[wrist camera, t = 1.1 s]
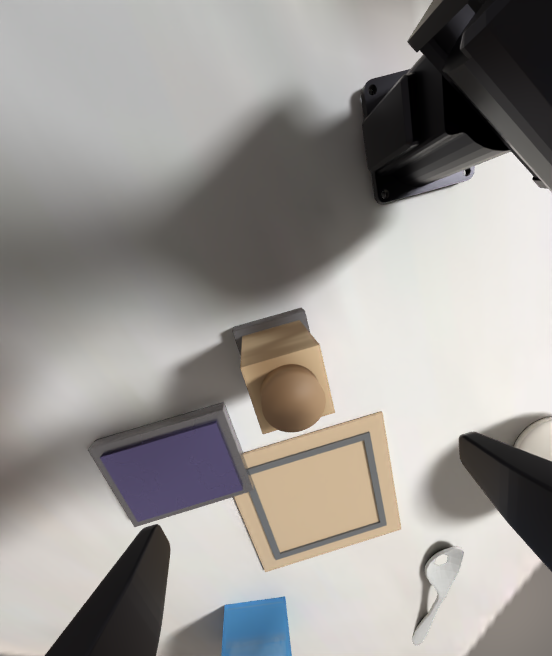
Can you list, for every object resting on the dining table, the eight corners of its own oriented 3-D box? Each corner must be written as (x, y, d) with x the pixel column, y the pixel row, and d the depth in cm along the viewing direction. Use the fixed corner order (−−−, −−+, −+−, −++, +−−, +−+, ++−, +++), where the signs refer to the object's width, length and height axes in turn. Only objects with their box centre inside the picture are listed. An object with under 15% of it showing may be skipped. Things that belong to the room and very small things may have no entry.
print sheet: (381, 411, 21) (383, 414, 21) (400, 527, 25) (402, 530, 25) (219, 460, 21) (219, 463, 21) (265, 569, 25) (265, 574, 25)
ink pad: (224, 402, 19) (222, 412, 18) (253, 480, 22) (253, 493, 21) (95, 440, 19) (85, 453, 18) (139, 514, 22) (132, 530, 20)
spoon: (462, 530, 27) (476, 547, 26) (426, 649, 33) (436, 669, 31) (426, 533, 27) (438, 551, 25) (396, 654, 32) (404, 674, 31)
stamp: (301, 307, 18) (335, 340, 11) (315, 368, 20) (354, 432, 13) (233, 326, 18) (224, 372, 11) (253, 386, 19) (257, 461, 12)
